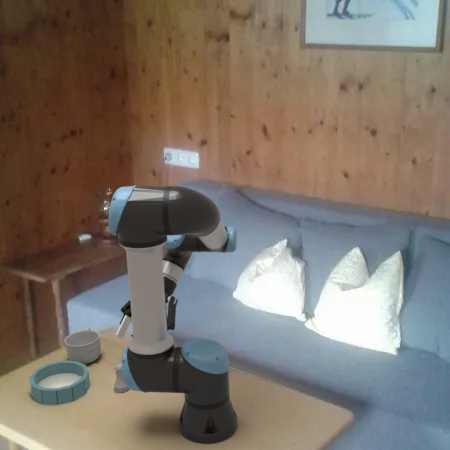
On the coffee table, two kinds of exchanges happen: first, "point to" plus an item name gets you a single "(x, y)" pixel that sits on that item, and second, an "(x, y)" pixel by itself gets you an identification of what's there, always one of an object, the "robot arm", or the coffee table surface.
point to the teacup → (83, 346)
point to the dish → (59, 382)
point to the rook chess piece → (119, 379)
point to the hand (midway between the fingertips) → (135, 342)
